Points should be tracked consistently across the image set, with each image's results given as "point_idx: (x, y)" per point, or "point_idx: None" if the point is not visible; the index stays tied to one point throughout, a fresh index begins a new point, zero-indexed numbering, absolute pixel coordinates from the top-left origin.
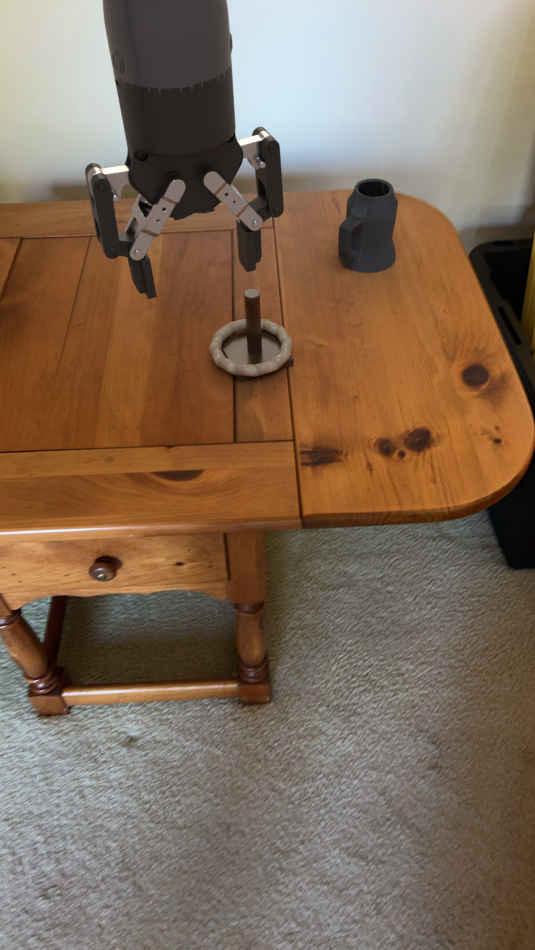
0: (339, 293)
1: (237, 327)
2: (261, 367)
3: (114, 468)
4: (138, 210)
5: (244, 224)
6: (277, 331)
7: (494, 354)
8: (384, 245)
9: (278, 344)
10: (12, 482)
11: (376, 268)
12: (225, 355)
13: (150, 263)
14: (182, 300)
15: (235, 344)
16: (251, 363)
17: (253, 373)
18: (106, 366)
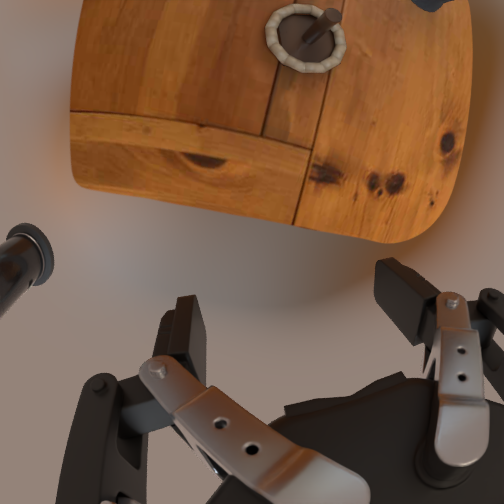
0: (394, 11)
1: (300, 11)
2: (310, 69)
3: (149, 141)
4: (195, 446)
5: (425, 333)
6: (336, 32)
7: (463, 130)
8: (440, 3)
9: (332, 41)
10: (73, 144)
11: (425, 8)
12: (279, 34)
13: (205, 386)
14: None
15: (292, 25)
16: (301, 53)
17: (300, 71)
18: (160, 18)
